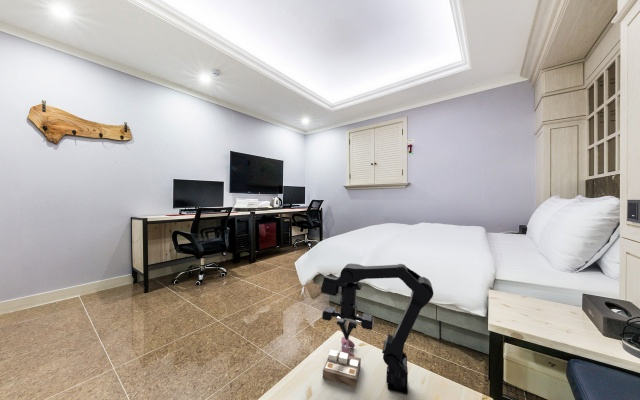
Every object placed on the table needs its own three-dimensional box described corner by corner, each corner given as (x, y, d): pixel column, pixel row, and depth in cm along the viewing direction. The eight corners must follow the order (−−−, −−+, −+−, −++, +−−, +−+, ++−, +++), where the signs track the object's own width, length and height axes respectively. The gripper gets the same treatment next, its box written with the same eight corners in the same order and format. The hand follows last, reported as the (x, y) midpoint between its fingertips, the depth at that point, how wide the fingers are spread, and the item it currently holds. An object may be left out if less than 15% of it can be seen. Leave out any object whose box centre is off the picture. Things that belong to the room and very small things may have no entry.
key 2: (358, 367, 86) (358, 360, 86) (357, 373, 83) (357, 366, 83) (350, 365, 87) (350, 358, 86) (349, 371, 84) (349, 364, 84)
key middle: (348, 360, 87) (348, 353, 87) (346, 365, 84) (346, 359, 84) (340, 358, 88) (340, 351, 88) (338, 363, 85) (338, 357, 85)
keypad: (360, 365, 87) (360, 357, 87) (356, 387, 77) (356, 378, 77) (330, 358, 91) (330, 350, 91) (322, 378, 81) (322, 369, 81)
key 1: (338, 357, 88) (338, 351, 88) (336, 362, 85) (336, 356, 85) (330, 355, 89) (330, 349, 89) (328, 360, 86) (328, 354, 86)
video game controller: (345, 349, 99) (339, 334, 99) (355, 345, 98) (348, 330, 99) (346, 366, 89) (338, 349, 89) (357, 361, 88) (349, 345, 89)
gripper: (375, 294, 90) (373, 332, 90) (330, 286, 96) (329, 322, 96) (373, 307, 79) (371, 350, 80) (322, 297, 85) (320, 338, 85)
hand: (346, 339), depth 85 cm, fingers closed
